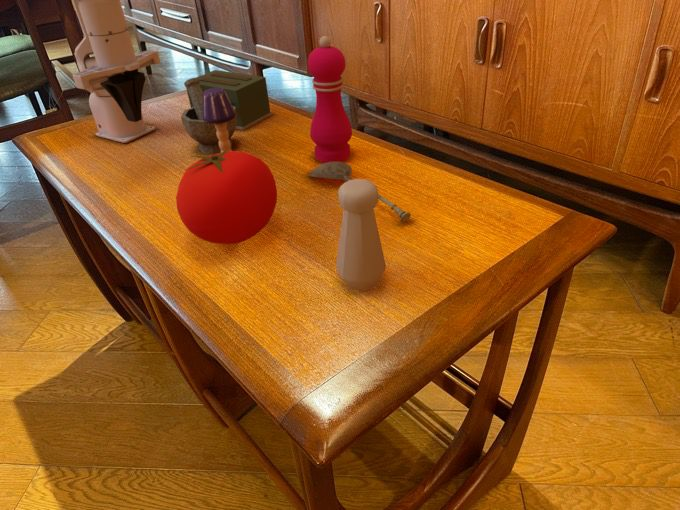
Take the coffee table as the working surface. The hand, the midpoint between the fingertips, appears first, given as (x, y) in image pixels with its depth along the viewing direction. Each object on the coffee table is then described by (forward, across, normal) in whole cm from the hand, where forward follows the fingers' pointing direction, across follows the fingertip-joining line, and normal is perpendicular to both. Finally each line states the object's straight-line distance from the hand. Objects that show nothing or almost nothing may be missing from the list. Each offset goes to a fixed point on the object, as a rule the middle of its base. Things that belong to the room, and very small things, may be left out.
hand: (134, 120), depth 83 cm
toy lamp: (+10, 0, -20) cm, 22 cm away
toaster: (+9, +26, +4) cm, 28 cm away
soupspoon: (+10, +9, -37) cm, 39 cm away
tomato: (+10, -8, -27) cm, 29 cm away
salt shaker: (+10, -9, -48) cm, 49 cm away
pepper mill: (+10, +19, -26) cm, 33 cm away
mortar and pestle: (+10, +13, -3) cm, 17 cm away
